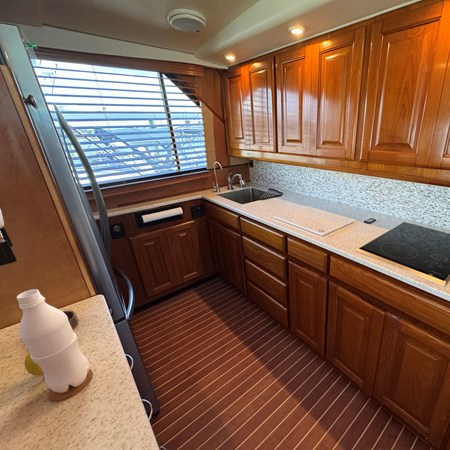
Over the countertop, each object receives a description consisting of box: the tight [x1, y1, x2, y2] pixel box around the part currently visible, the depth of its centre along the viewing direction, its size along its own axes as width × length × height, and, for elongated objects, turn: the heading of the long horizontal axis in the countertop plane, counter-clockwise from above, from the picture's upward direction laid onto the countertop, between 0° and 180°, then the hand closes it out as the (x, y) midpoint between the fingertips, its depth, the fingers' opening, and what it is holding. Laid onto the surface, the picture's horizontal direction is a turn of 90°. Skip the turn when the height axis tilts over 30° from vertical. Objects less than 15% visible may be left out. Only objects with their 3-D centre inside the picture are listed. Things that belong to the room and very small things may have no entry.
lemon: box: [24, 352, 44, 377], centre depth 57 cm, size 6×6×8 cm
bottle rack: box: [61, 310, 80, 331], centre depth 72 cm, size 9×9×3 cm
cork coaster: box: [47, 367, 94, 403], centre depth 56 cm, size 8×8×1 cm
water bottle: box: [16, 288, 90, 393], centre depth 51 cm, size 7×7×25 cm
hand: (2, 256), depth 44 cm, fingers open, 9 cm apart
